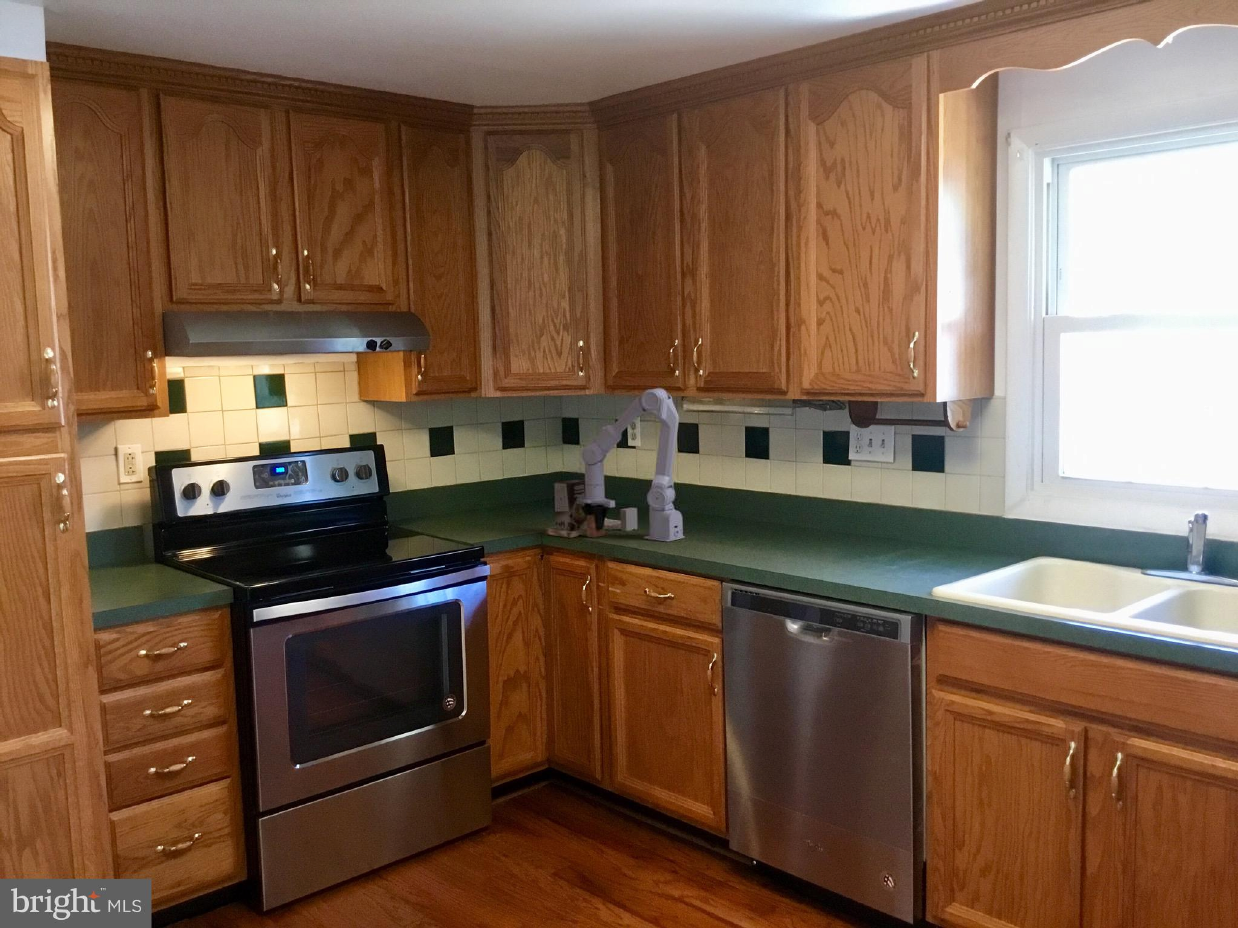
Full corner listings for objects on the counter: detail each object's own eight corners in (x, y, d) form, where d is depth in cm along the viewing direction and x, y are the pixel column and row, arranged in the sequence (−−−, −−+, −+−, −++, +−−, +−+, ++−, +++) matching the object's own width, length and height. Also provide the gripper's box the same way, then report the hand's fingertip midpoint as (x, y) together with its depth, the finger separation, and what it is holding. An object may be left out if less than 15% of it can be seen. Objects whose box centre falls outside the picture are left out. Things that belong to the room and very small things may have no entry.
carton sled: (614, 532, 332) (614, 511, 331) (583, 539, 322) (582, 517, 322) (577, 527, 343) (576, 507, 342) (546, 534, 334) (545, 513, 333)
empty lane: (640, 528, 340) (640, 507, 340) (623, 531, 335) (622, 510, 334) (603, 523, 352) (603, 503, 351) (586, 526, 346) (585, 506, 345)
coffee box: (571, 536, 330) (569, 483, 328) (555, 534, 333) (553, 482, 332) (590, 531, 337) (588, 480, 335) (574, 530, 341) (572, 478, 339)
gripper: (568, 484, 328) (569, 528, 330) (602, 487, 318) (604, 533, 320) (584, 481, 333) (586, 525, 335) (619, 484, 324) (620, 530, 325)
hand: (596, 529), depth 328 cm, fingers closed on carton sled, 2 cm apart
